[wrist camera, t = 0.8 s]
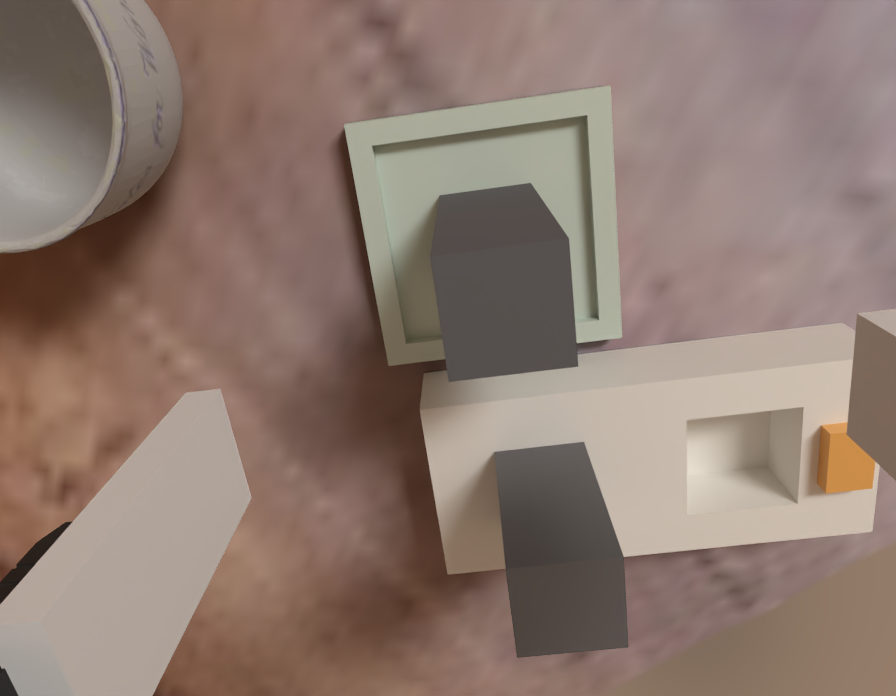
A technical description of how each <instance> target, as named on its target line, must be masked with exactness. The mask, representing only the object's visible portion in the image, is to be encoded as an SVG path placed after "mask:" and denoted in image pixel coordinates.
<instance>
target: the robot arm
mask: <svg viewBox="0 0 896 696" xmlns="http://www.w3.org/2000/svg"><path fill="white" fill-rule="evenodd" d="M846 435H847V436H849V437H850V438H851V439H852V440H853V441H854V442H855V443H856V444H857V445H858V446H859V447H860V448H861V449H863V450H864V451H865V452H866V453H867V454H868V455H869V456H870V457H871V458H872V459H873V460H874V461H875V462H876V463H878V464H879V465H880V466H881V467H882V468H883V469H884V470H885V471H886V472H887V473H888V474H889V475H890V476H892V477H893V478H894V479H895V480H896V309H891V310H883V311H874V312H866V313H857V322H856V333H855V344H854V355H853V366H852V377H851V389H850V400H849V411H848V422H847V433H846ZM251 498H252V497H251V494H250V490H249V487H248V483H247V480H246V476H245V473H244V470H243V466H242V463H241V459H240V456H239V452H238V449H237V445H236V442H235V438H234V435H233V431H232V428H231V424H230V421H229V417H228V414H227V410H226V407H225V403H224V400H223V396H222V393H221V389H215V390H206V391H198V392H190V393H185V394H184V395H183V397H182V398H181V399H180V400H179V401H178V402H177V403H176V405H175V406H174V407H173V408H172V409H171V410H170V411H169V413H168V414H167V415H166V416H165V417H164V418H163V419H162V421H161V422H160V423H159V424H158V425H157V426H156V427H155V428H154V430H153V431H152V432H151V433H150V434H149V435H148V436H147V438H146V439H145V440H144V441H143V442H142V443H141V444H140V446H139V447H138V448H137V449H136V450H135V451H134V452H133V454H132V455H131V456H130V457H129V458H128V459H127V460H126V462H125V463H124V464H123V465H122V466H121V467H120V468H119V470H118V471H117V472H116V473H115V474H114V475H113V476H112V478H111V479H110V480H109V481H108V482H107V483H106V484H105V486H104V487H103V488H102V489H101V490H100V491H99V492H98V494H97V495H96V496H95V497H94V498H93V499H92V500H91V502H90V503H89V504H88V505H87V506H86V507H85V508H84V510H83V511H82V512H81V513H80V514H79V515H78V516H77V518H76V519H75V520H74V521H73V522H65V523H64V524H62V525H61V526H60V527H58V528H57V529H55V530H54V531H52V532H51V533H50V534H48V535H47V536H45V537H44V538H42V539H41V540H40V541H38V542H37V543H36V544H35V545H34V546H33V547H32V548H31V549H30V550H29V551H28V553H27V554H26V555H25V556H24V557H23V558H22V559H21V560H20V561H19V562H18V564H17V567H16V569H12V570H11V571H10V572H9V573H8V574H7V576H6V577H5V578H4V579H3V580H2V581H1V582H0V696H153V694H154V692H155V690H156V688H157V686H158V684H159V682H160V680H161V678H162V676H163V674H164V672H165V670H166V668H167V666H168V664H169V662H170V660H171V658H172V656H173V654H174V652H175V650H176V648H177V646H178V644H179V642H180V640H181V638H182V636H183V634H184V632H185V630H186V628H187V626H188V624H189V622H190V620H191V618H192V616H193V614H194V612H195V610H196V608H197V606H198V604H199V602H200V600H201V598H202V596H203V594H204V592H205V590H206V588H207V586H208V584H209V582H210V580H211V578H212V576H213V574H214V572H215V570H216V568H217V566H218V564H219V562H220V560H221V558H222V556H223V554H224V552H225V550H226V548H227V546H228V544H229V542H230V540H231V538H232V536H233V534H234V532H235V530H236V528H237V526H238V524H239V522H240V520H241V518H242V516H243V514H244V512H245V510H246V508H247V506H248V504H249V502H250V500H251Z"/></svg>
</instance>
